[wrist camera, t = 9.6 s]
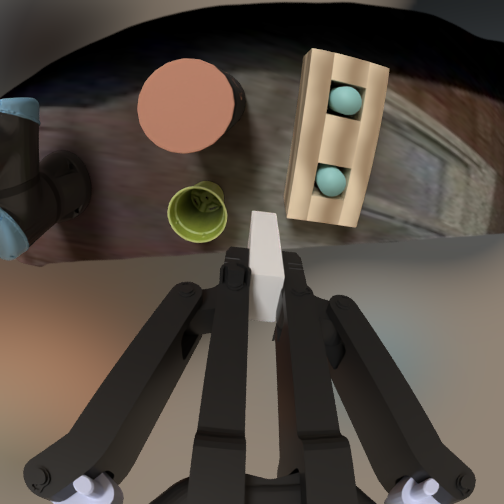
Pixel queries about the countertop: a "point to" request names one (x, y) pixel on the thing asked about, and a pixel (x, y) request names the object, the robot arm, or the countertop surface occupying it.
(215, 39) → the countertop surface
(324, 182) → the peg
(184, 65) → the coffee jar
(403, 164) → the countertop surface
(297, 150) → the socket block
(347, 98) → the peg
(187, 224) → the plant pot
